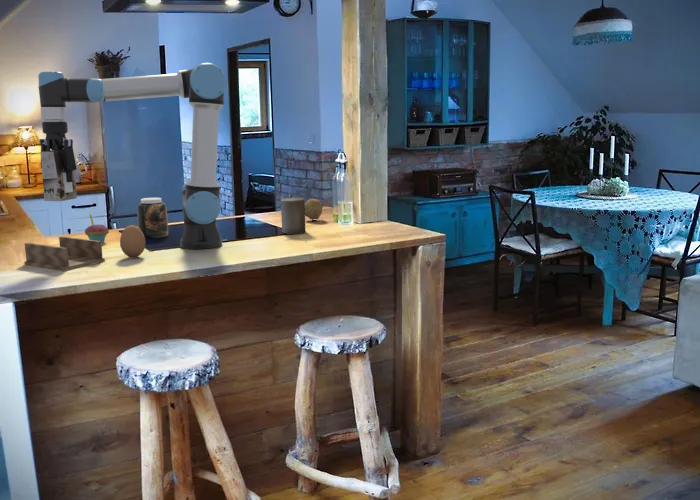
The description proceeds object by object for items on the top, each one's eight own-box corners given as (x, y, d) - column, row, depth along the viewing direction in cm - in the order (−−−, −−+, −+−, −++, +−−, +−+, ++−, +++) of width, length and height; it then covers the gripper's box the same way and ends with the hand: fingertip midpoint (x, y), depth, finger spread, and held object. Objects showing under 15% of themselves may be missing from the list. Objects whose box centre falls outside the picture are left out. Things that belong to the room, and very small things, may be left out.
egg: (122, 261, 237) (120, 227, 234) (119, 256, 244) (117, 224, 242) (148, 258, 240) (145, 225, 238) (144, 254, 247) (142, 222, 245)
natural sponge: (300, 222, 313) (300, 199, 311) (305, 219, 322) (304, 197, 320) (320, 222, 312) (320, 199, 310) (324, 219, 320) (324, 197, 318)
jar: (132, 237, 281) (129, 200, 278) (150, 232, 291) (148, 196, 288) (156, 239, 276) (154, 201, 273) (174, 234, 287) (172, 197, 284)
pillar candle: (310, 231, 289) (309, 195, 286) (296, 235, 281) (294, 197, 278) (291, 230, 294) (290, 194, 291) (276, 233, 286) (275, 196, 283)
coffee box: (61, 201, 228) (57, 151, 224) (43, 201, 229) (39, 151, 226) (78, 198, 236) (74, 149, 233) (61, 197, 238) (56, 149, 235)
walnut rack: (104, 261, 237) (103, 240, 235) (63, 270, 223) (61, 249, 222) (65, 255, 247) (63, 235, 245) (24, 264, 233) (22, 243, 232)
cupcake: (87, 245, 265) (84, 214, 262) (84, 242, 272) (81, 211, 270) (111, 243, 268) (108, 212, 266) (107, 240, 276) (105, 209, 273)
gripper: (85, 120, 225) (90, 192, 230) (44, 120, 236) (50, 188, 241) (64, 121, 219) (70, 194, 224) (24, 121, 230) (30, 190, 234)
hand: (60, 191), depth 232 cm, fingers closed on coffee box, 8 cm apart
